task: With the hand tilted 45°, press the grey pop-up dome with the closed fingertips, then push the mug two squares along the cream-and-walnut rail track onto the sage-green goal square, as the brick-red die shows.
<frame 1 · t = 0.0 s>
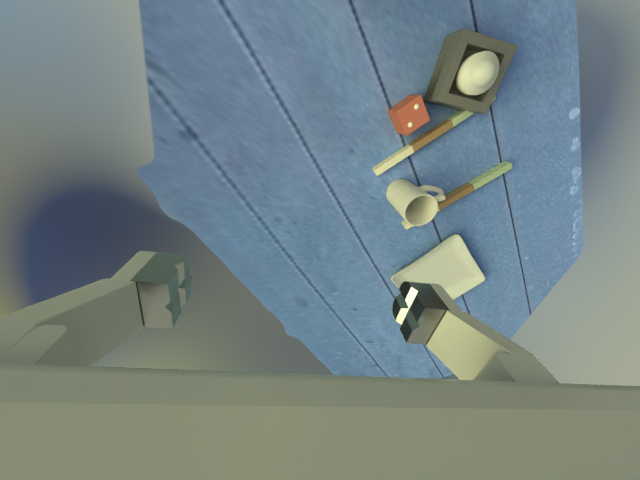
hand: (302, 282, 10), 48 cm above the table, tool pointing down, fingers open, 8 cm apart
die: (403, 114, 51), on the table
pop dome: (480, 73, 43), point 7 cm above the table, slide at 0.0 cm
mug: (404, 188, 60), on the table
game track: (440, 167, 58), on the table
dome housing: (458, 76, 49), on the table
salad plate: (433, 272, 74), on the table
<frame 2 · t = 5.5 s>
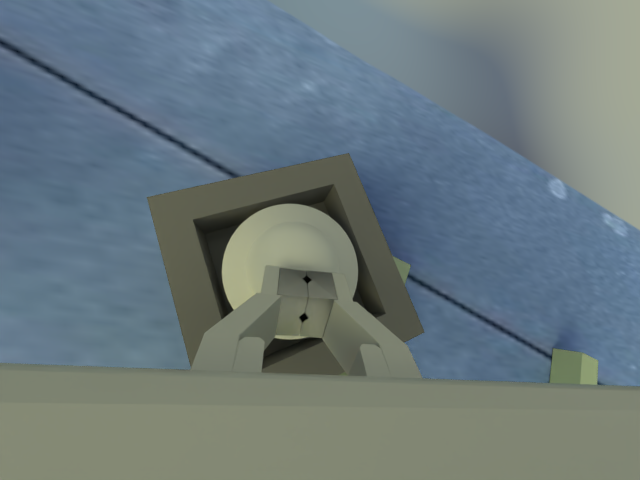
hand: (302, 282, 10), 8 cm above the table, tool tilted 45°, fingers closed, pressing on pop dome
pop dome: (293, 267, 12), point 6 cm above the table, slide at 0.9 cm, touching gripper
dome housing: (284, 279, 17), on the table
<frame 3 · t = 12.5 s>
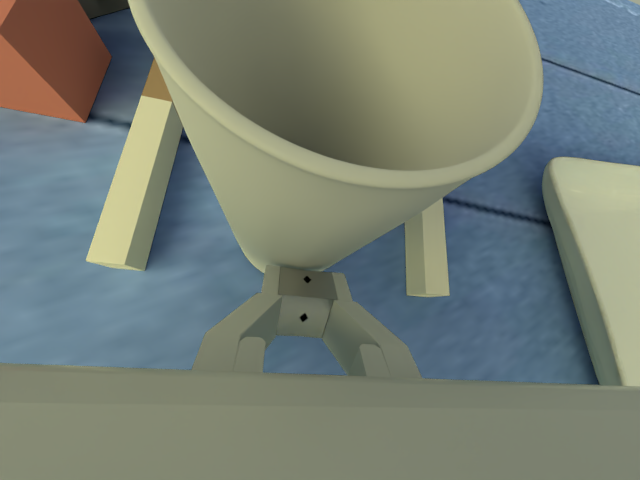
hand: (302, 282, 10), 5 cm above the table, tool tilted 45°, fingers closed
die: (50, 78, 14), on the table
mug: (297, 207, 16), on the table, touching gripper
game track: (307, 97, 18), on the table
salad plate: (636, 299, 21), on the table
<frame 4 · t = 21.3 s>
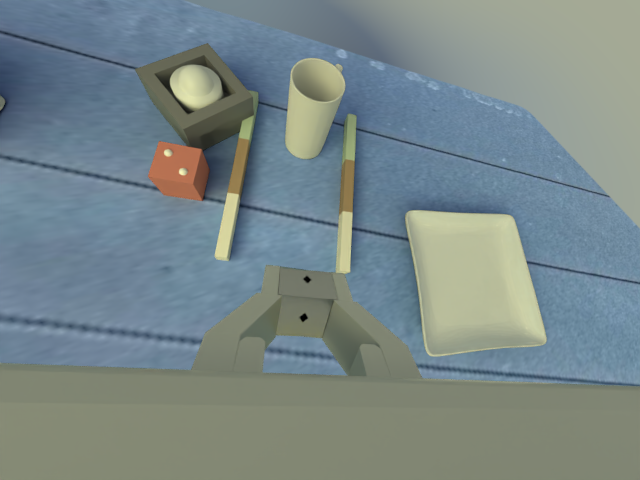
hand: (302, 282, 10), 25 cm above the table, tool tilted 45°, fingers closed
die: (187, 182, 35), on the table
pop dome: (196, 84, 34), point 5 cm above the table, slide at 1.3 cm
mug: (309, 138, 42), on the table
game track: (294, 181, 39), on the table
dome housing: (205, 113, 39), on the table
salad plate: (460, 278, 41), on the table
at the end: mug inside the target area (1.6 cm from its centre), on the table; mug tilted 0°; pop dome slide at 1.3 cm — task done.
